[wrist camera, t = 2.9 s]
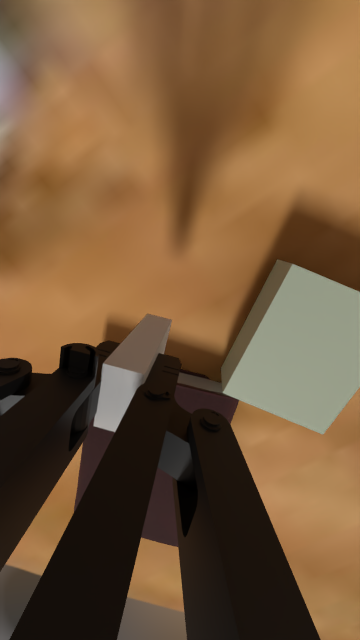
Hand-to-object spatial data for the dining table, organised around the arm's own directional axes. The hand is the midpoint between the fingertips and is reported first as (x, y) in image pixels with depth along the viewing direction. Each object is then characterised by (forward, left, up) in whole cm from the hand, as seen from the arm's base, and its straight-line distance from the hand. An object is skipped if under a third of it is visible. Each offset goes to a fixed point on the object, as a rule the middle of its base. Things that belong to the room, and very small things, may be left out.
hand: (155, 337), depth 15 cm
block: (0, +10, -6) cm, 12 cm away
